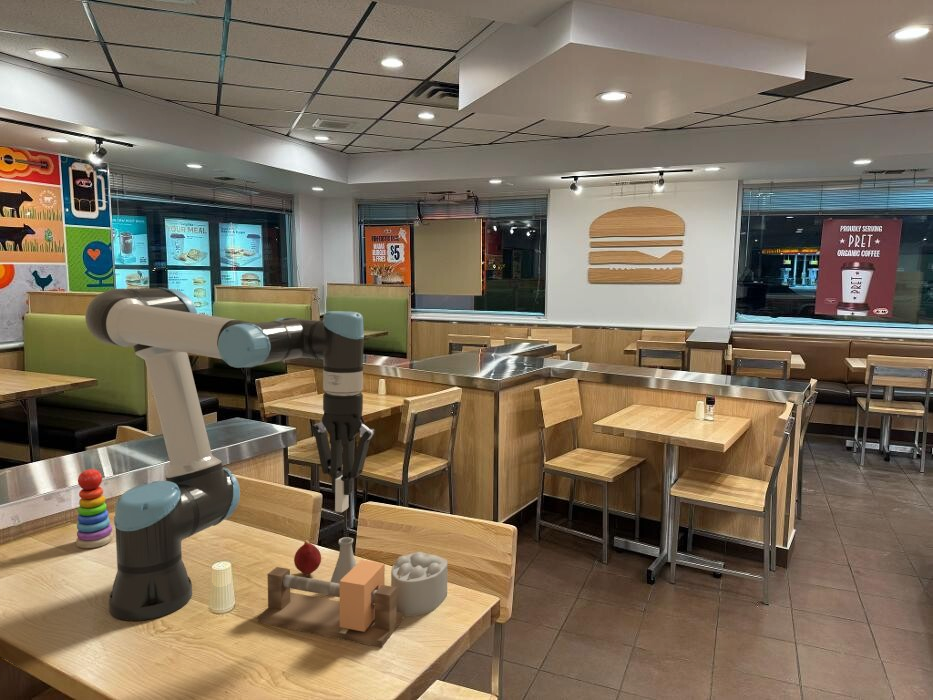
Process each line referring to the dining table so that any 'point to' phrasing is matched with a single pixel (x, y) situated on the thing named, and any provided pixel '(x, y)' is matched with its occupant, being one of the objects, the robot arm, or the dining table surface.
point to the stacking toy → (92, 512)
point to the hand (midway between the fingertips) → (341, 509)
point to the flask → (344, 560)
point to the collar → (360, 594)
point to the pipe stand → (325, 609)
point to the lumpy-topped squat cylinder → (419, 583)
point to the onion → (307, 558)
